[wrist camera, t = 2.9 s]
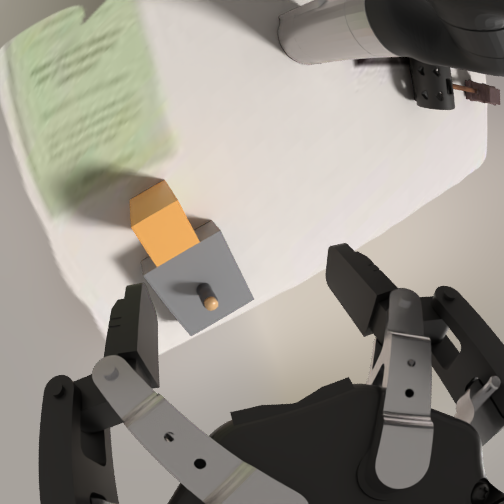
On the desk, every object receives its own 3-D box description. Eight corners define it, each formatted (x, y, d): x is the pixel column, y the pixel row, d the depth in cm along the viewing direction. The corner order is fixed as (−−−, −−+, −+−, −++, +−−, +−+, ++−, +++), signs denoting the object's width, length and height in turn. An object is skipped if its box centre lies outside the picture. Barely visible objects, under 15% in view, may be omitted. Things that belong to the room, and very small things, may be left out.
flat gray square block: (140, 261, 38) (146, 292, 32) (211, 220, 40) (231, 242, 34) (185, 320, 46) (197, 353, 40) (244, 286, 48) (265, 314, 42)
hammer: (477, 101, 55) (500, 107, 46) (417, 94, 52) (445, 98, 43) (476, 82, 51) (499, 87, 43) (414, 69, 48) (443, 71, 40)
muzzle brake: (404, 105, 45) (445, 112, 37) (375, -14, 30) (415, -21, 21) (425, 100, 47) (462, 107, 39) (401, -7, 32) (437, -11, 23)
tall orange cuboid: (129, 200, 33) (131, 227, 25) (164, 179, 34) (177, 200, 26) (148, 232, 37) (157, 267, 29) (181, 212, 37) (200, 242, 29)
